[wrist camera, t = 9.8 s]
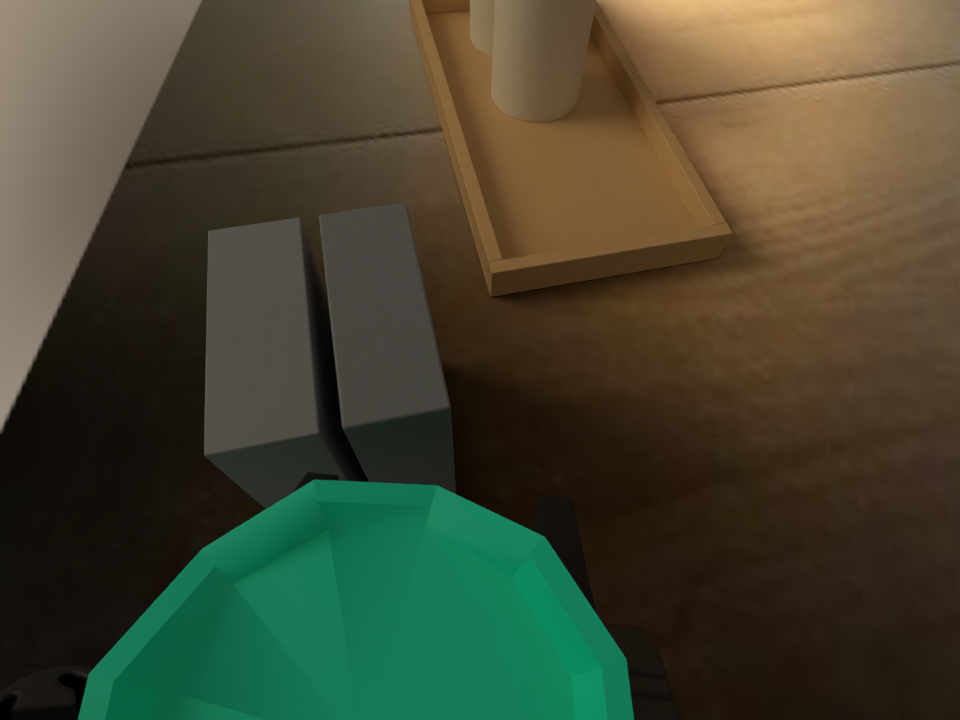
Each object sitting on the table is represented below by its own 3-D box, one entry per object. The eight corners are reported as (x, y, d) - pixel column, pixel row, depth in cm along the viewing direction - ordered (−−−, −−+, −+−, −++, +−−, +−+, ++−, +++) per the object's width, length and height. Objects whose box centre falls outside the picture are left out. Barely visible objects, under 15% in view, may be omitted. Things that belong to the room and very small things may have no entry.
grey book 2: (368, 371, 29) (318, 213, 19) (426, 360, 29) (406, 201, 19) (390, 527, 25) (341, 429, 15) (457, 513, 25) (451, 407, 16)
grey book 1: (295, 384, 28) (207, 230, 19) (356, 373, 29) (300, 216, 19) (307, 545, 24) (203, 455, 15) (376, 530, 25) (319, 433, 15)
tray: (410, 18, 44) (408, -11, 43) (575, 0, 46) (580, -28, 44) (490, 297, 31) (491, 273, 29) (718, 258, 33) (733, 233, 31)
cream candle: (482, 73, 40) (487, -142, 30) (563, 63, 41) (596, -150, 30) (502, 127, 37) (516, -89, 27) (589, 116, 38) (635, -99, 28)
